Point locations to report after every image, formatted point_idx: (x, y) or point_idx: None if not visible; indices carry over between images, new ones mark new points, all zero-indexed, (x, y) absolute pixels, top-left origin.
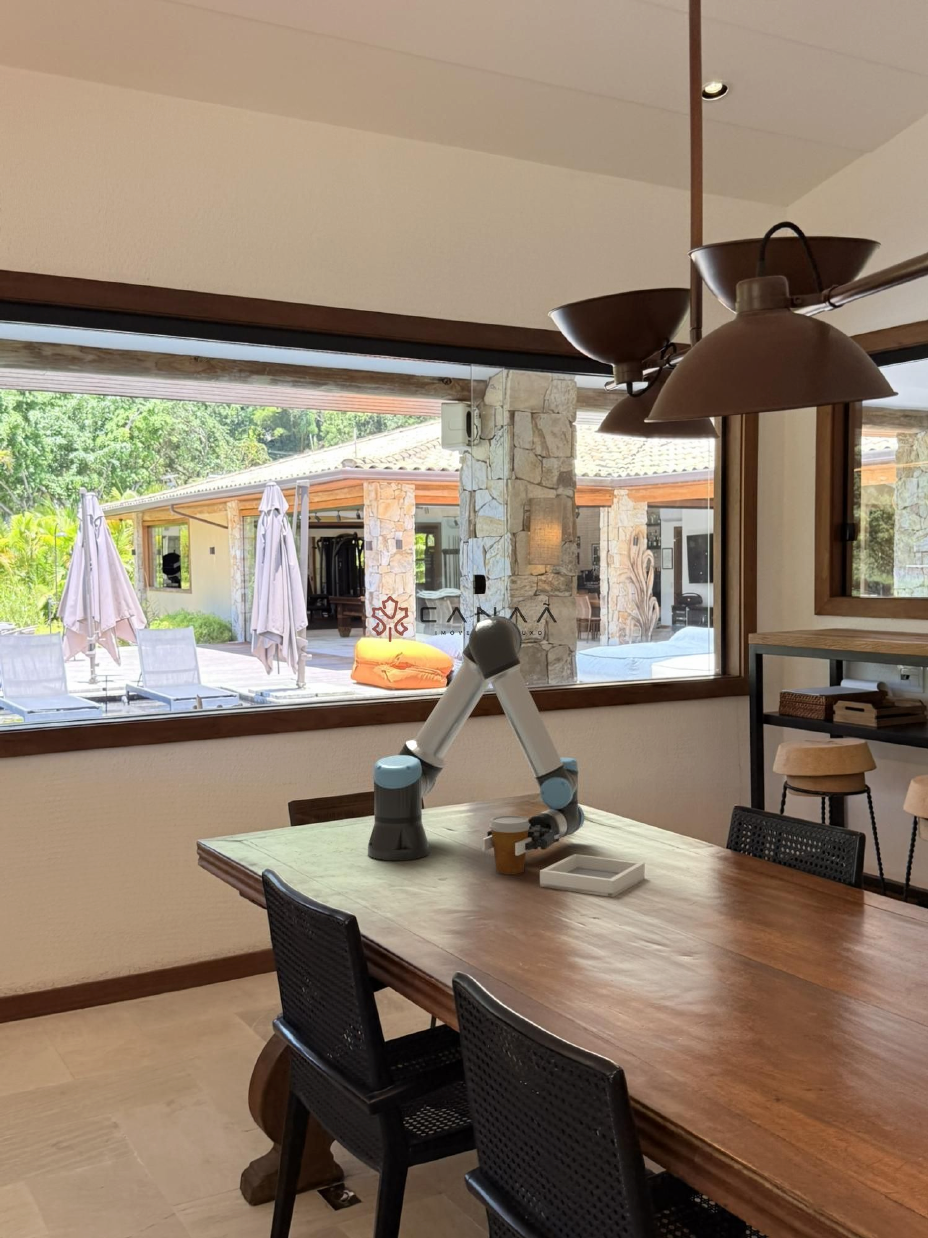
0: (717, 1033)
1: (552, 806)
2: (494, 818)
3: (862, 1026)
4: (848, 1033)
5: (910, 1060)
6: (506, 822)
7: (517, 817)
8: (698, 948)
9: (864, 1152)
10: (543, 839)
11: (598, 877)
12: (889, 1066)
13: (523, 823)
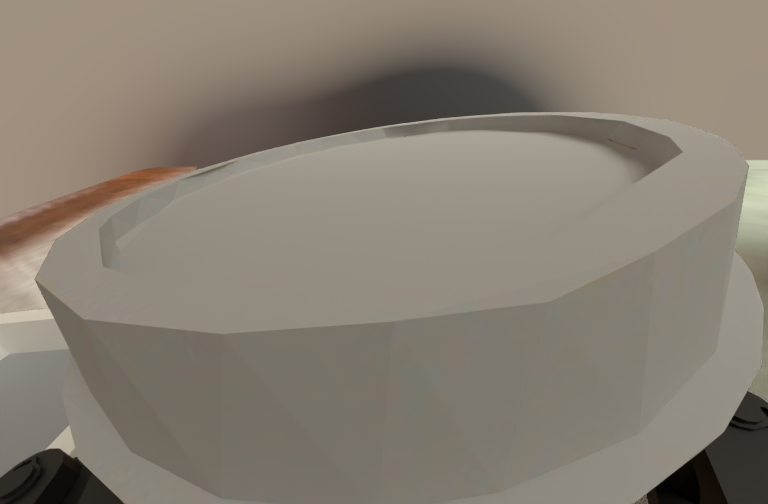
0: (135, 189)
1: None
2: (594, 124)
3: (23, 215)
4: (44, 209)
5: (35, 206)
6: (371, 152)
7: (346, 307)
8: (43, 245)
9: (125, 177)
10: (38, 453)
11: (12, 321)
12: (55, 201)
13: (199, 182)
